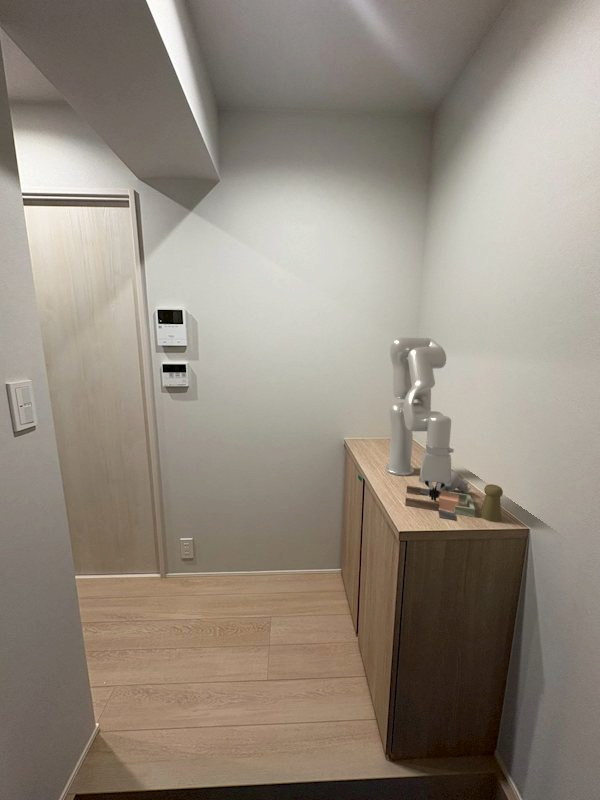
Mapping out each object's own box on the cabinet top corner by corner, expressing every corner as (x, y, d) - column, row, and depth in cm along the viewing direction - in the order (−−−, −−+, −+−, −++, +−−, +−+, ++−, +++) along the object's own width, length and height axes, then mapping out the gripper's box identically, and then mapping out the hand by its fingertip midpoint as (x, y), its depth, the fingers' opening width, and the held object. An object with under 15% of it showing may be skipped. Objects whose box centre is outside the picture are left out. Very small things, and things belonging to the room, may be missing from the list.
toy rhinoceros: (467, 504, 123) (478, 485, 121) (437, 490, 123) (448, 471, 122) (461, 495, 130) (471, 477, 128) (433, 482, 130) (443, 464, 129)
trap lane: (407, 486, 131) (407, 480, 131) (467, 495, 124) (468, 489, 123) (404, 511, 110) (404, 504, 110) (476, 524, 103) (477, 516, 103)
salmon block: (440, 501, 119) (440, 491, 118) (458, 505, 116) (459, 495, 115) (438, 508, 113) (438, 497, 113) (457, 512, 111) (458, 501, 110)
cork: (476, 513, 110) (479, 482, 109) (493, 512, 111) (496, 482, 109) (487, 522, 104) (491, 490, 103) (505, 521, 105) (509, 489, 103)
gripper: (459, 449, 116) (455, 498, 118) (415, 445, 121) (412, 491, 124) (461, 456, 109) (457, 507, 111) (414, 450, 114) (411, 500, 117)
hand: (433, 499), depth 117 cm, fingers closed
